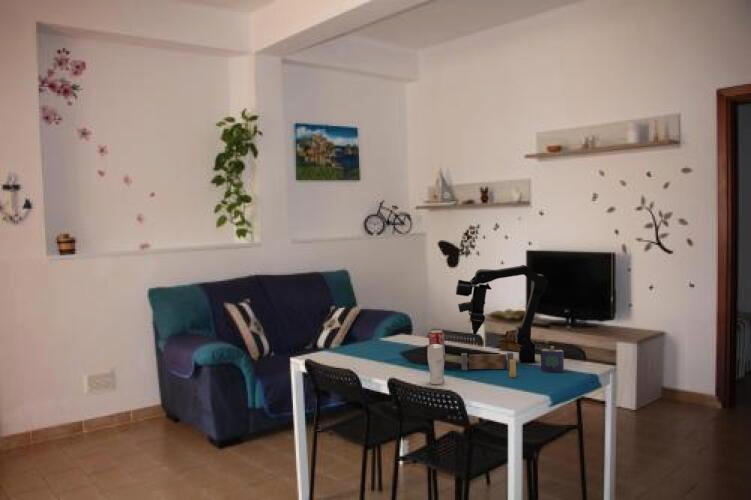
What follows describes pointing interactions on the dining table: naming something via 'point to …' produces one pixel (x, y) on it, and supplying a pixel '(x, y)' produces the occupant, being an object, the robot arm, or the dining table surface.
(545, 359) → the flask
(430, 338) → the soda can
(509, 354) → the frame
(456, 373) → the dining table surface
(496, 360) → the brown wooden plank
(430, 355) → the beer glass
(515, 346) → the wooden carving
